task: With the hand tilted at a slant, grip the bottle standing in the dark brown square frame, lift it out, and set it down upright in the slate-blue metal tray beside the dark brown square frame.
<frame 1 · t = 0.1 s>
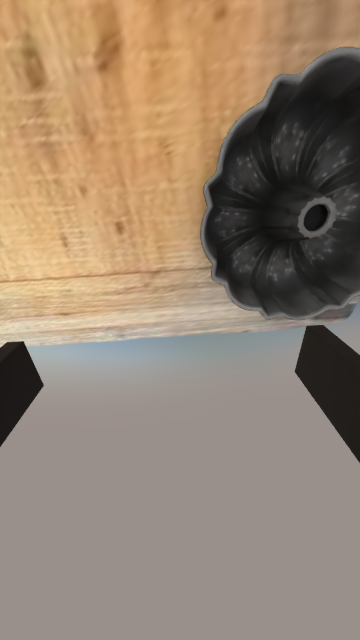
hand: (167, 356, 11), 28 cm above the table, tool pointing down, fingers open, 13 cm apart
bundt pan: (279, 214, 33), on the table
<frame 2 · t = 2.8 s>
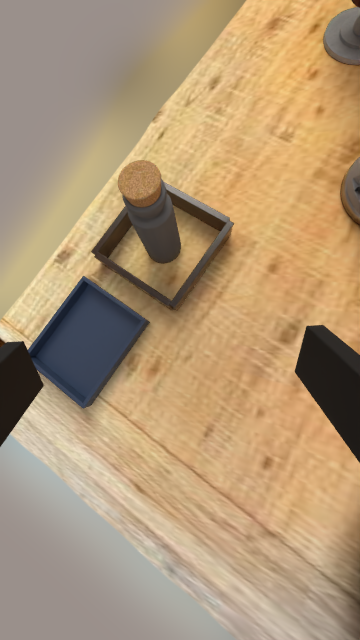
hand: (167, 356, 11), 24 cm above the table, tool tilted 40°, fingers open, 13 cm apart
dark brown square frame: (164, 247, 38), on the table
mate gourd: (356, 42, 41), on the table
tray: (90, 339, 37), on the table
bottle: (164, 248, 38), resting in dark brown square frame
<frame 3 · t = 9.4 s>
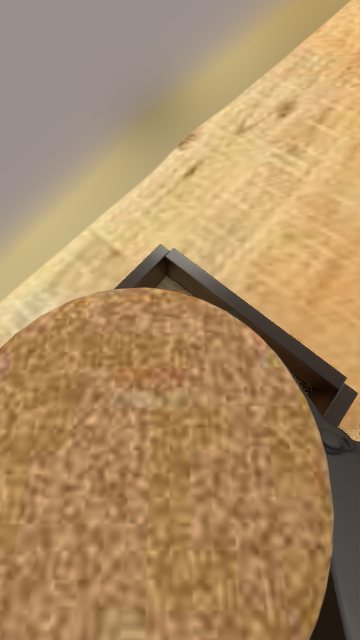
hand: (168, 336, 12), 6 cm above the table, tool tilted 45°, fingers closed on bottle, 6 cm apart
dark brown square frame: (174, 399, 17), on the table
bottle: (175, 399, 17), resting in dark brown square frame, touching gripper
when the fingers open (6 cm above the table, at t = 18.5 s): bottle stays where it is, resting on tray.
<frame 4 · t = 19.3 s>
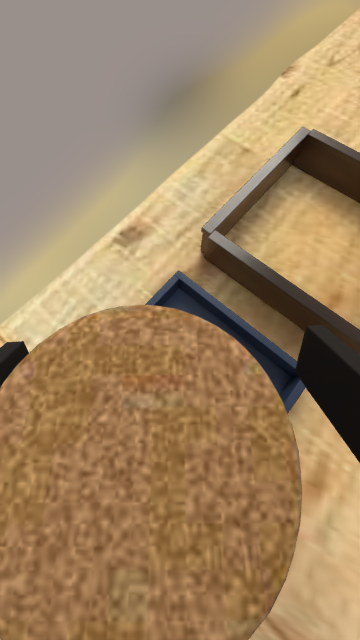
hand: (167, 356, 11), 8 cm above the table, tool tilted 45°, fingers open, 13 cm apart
dark brown square frame: (315, 244, 22), on the table
tray: (174, 398, 18), on the table
bottle: (174, 399, 18), resting on tray
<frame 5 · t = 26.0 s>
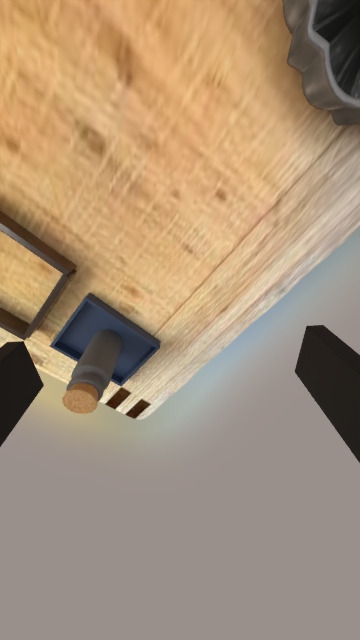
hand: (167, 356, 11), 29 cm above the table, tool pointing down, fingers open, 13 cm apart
dark brown square frame: (10, 272, 37), on the table
tray: (108, 340, 44), on the table
bottle: (108, 341, 44), resting on tray
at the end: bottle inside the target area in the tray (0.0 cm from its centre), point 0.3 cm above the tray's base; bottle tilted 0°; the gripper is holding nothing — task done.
